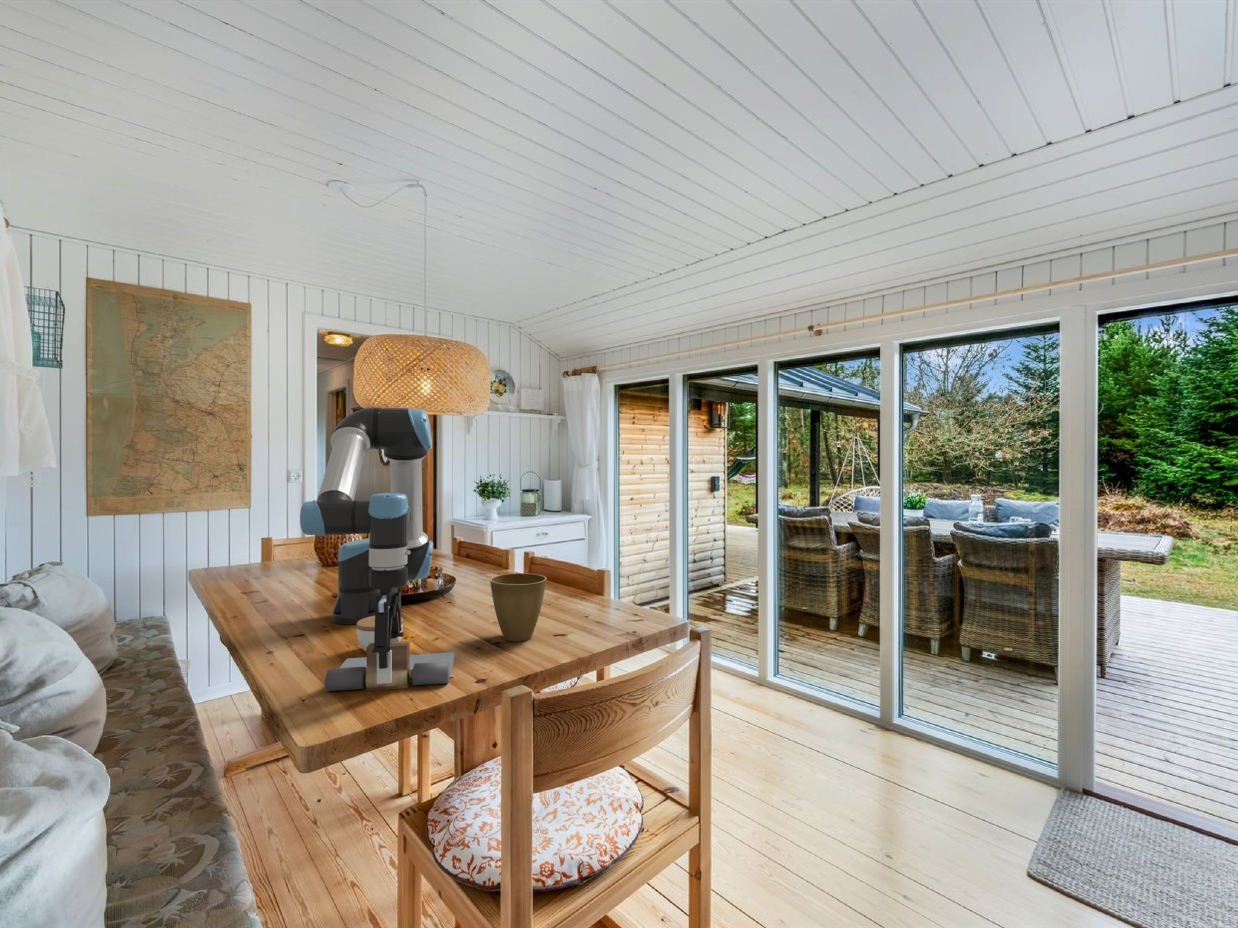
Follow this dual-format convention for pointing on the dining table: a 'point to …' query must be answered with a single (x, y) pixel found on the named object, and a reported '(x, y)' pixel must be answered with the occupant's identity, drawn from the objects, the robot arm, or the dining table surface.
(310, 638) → the dining table surface
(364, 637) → the lidded jar
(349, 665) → the grey hinge leaf
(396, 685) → the taupe rectangular chunk
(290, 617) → the dining table surface
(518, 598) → the plant pot
